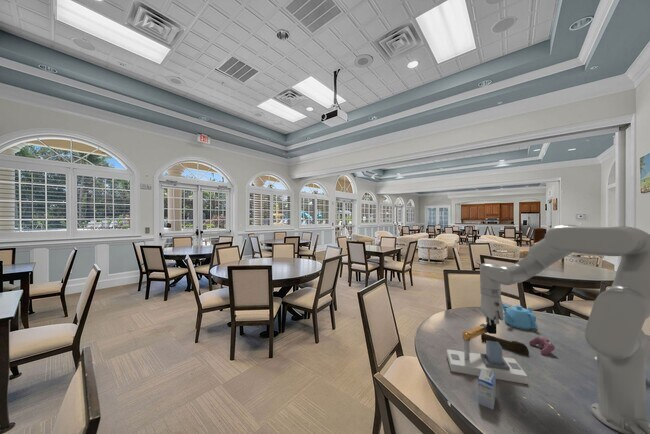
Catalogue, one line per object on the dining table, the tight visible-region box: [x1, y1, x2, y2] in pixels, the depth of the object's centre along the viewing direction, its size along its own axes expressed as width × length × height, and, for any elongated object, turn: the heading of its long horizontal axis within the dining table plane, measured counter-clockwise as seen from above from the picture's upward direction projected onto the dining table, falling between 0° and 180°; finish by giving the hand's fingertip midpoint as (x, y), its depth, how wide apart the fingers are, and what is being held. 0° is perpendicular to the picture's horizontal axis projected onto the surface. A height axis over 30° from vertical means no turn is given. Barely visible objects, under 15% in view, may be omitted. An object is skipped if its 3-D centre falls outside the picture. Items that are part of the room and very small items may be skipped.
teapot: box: [502, 304, 538, 330], centre depth 143 cm, size 15×17×11 cm
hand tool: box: [480, 333, 530, 356], centre depth 118 cm, size 19×4×5 cm, turn 37°
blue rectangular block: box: [485, 340, 503, 365], centre depth 100 cm, size 4×4×8 cm
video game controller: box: [528, 335, 556, 356], centre depth 115 cm, size 10×5×7 cm, turn 169°
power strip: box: [446, 339, 529, 385], centre depth 102 cm, size 12×26×11 cm, turn 71°
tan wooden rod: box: [462, 323, 488, 342], centre depth 107 cm, size 3×17×3 cm, turn 120°
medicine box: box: [477, 368, 497, 411], centre depth 84 cm, size 8×4×9 cm, turn 141°
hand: (491, 332), depth 108 cm, fingers closed
